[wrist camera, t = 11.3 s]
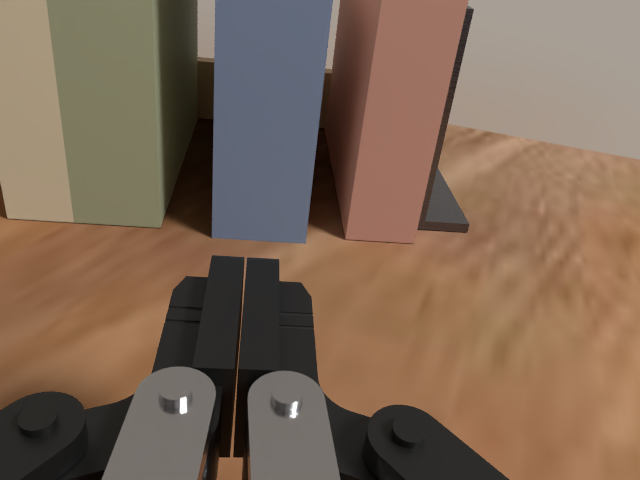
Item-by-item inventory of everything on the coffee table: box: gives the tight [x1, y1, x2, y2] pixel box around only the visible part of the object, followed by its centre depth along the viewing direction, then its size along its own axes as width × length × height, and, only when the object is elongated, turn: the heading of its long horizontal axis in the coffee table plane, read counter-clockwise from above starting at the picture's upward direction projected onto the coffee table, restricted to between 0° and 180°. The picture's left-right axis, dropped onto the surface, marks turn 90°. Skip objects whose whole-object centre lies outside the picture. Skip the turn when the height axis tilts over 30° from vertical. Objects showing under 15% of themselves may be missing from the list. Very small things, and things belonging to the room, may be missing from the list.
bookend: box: [417, 5, 474, 232], centre depth 33 cm, size 3×12×11 cm, turn 3°
